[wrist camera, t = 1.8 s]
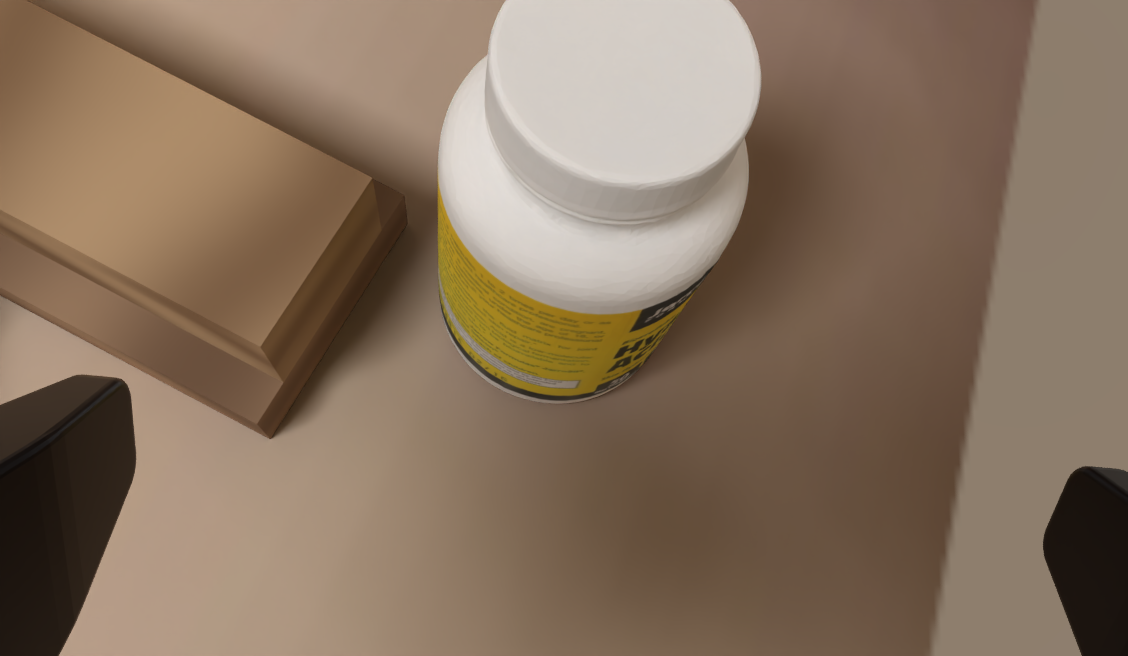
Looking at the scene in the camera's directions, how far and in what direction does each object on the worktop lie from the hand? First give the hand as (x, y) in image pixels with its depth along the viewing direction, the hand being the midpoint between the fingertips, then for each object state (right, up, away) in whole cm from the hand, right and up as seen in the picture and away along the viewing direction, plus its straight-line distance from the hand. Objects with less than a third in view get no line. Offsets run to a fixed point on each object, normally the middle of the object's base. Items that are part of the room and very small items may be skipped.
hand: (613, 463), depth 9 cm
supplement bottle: (-1, +2, +14) cm, 14 cm away
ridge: (-12, +5, +13) cm, 18 cm away
